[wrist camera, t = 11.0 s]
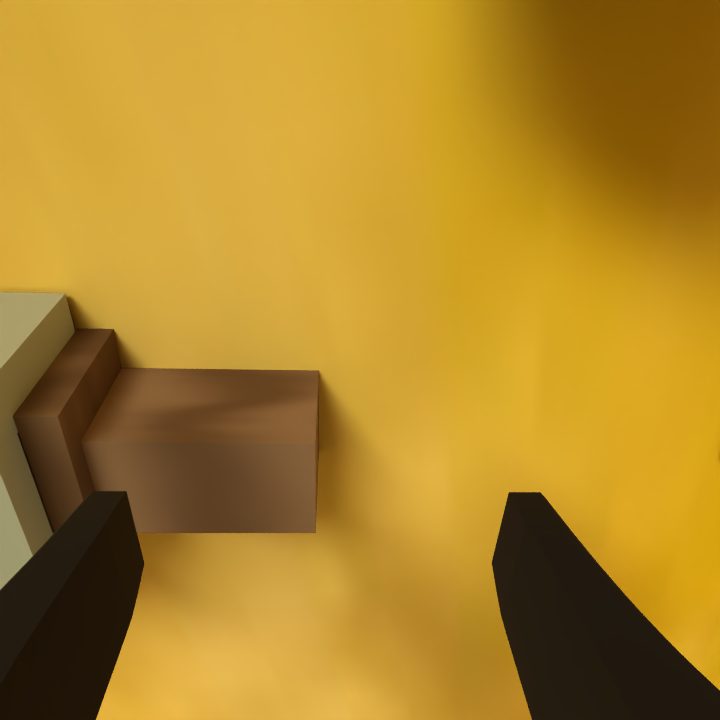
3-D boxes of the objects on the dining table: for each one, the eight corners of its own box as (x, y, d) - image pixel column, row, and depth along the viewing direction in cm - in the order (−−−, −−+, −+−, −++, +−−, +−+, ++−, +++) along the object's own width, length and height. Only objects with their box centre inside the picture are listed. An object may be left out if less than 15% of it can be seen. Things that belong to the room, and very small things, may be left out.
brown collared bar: (318, 332, 20) (314, 418, 16) (318, 482, 24) (315, 582, 20) (-75, 325, 20) (-179, 414, 16) (-10, 481, 24) (-81, 584, 20)
